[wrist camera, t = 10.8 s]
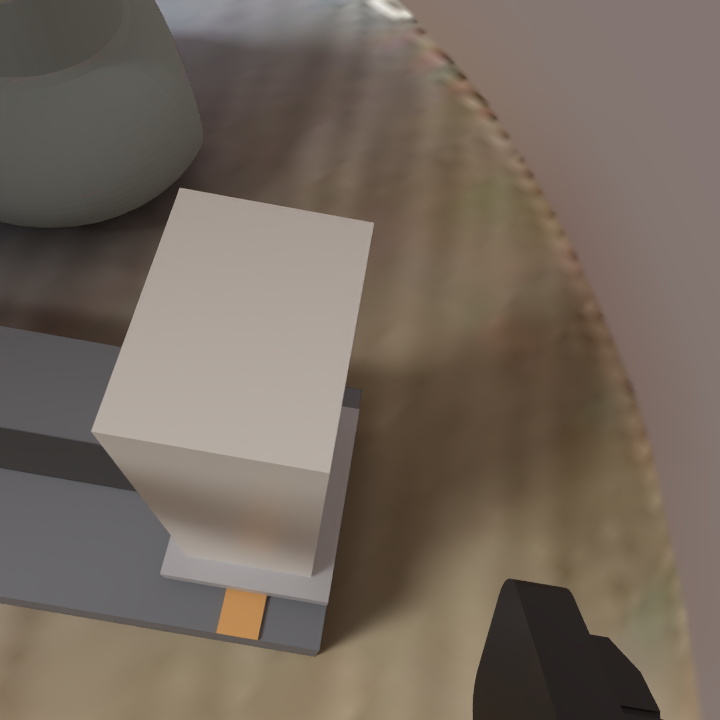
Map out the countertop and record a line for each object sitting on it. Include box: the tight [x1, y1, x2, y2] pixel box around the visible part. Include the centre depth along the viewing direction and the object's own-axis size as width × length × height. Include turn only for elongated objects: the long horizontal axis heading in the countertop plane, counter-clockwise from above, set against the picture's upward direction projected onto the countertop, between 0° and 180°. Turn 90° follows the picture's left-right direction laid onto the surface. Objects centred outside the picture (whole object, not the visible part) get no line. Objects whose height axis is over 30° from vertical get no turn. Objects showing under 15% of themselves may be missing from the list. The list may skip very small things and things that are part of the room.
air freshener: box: [0, 0, 204, 228], centre depth 21 cm, size 11×8×10 cm
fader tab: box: [91, 188, 374, 606], centre depth 13 cm, size 4×5×9 cm
